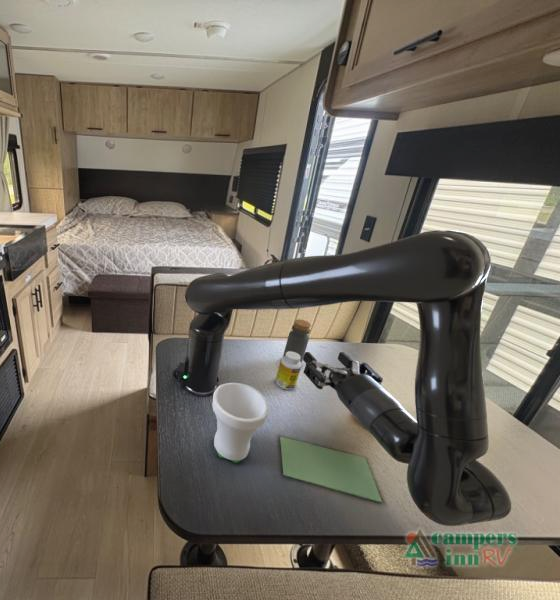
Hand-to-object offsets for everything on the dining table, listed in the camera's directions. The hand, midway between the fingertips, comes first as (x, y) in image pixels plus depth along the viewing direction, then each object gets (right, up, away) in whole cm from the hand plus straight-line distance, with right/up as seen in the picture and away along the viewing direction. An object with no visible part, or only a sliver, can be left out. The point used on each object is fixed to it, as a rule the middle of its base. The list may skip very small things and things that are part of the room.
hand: (322, 355), depth 71 cm
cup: (-23, -20, -4) cm, 31 cm away
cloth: (-3, -23, -7) cm, 24 cm away
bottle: (+4, -8, +27) cm, 29 cm away
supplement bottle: (-2, -12, +18) cm, 21 cm away
